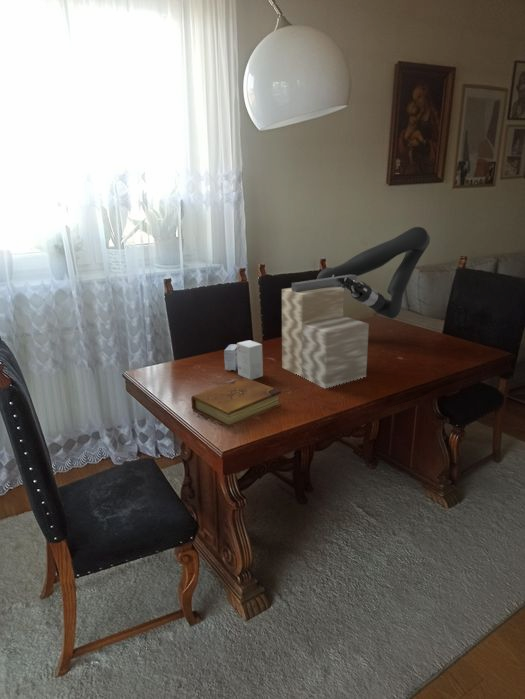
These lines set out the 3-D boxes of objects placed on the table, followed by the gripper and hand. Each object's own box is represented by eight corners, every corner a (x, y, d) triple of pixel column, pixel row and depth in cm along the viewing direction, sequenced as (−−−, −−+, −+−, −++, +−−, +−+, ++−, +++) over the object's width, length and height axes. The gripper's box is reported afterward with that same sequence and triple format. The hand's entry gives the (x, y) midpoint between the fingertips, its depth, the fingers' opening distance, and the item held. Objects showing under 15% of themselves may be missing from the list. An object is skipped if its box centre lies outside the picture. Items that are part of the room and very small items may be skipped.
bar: (291, 290, 189) (291, 283, 188) (351, 281, 205) (351, 274, 204) (296, 292, 187) (296, 284, 186) (356, 282, 202) (356, 275, 201)
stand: (282, 367, 203) (281, 289, 193) (320, 358, 213) (322, 283, 203) (325, 388, 181) (327, 301, 171) (366, 377, 192) (370, 294, 182)
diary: (243, 391, 182) (243, 376, 180) (281, 406, 169) (281, 390, 167) (192, 410, 167) (191, 394, 165) (228, 429, 154) (227, 411, 152)
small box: (263, 376, 194) (262, 344, 190) (250, 380, 190) (249, 347, 186) (250, 370, 200) (249, 339, 196) (237, 374, 196) (236, 342, 192)
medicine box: (235, 371, 200) (234, 350, 197) (224, 370, 201) (223, 349, 198) (240, 364, 207) (239, 344, 205) (229, 363, 208) (229, 343, 206)
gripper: (356, 283, 214) (330, 267, 204) (381, 288, 203) (355, 271, 193) (349, 299, 214) (323, 283, 204) (373, 305, 203) (347, 289, 193)
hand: (339, 278), depth 199 cm, fingers open, 7 cm apart
